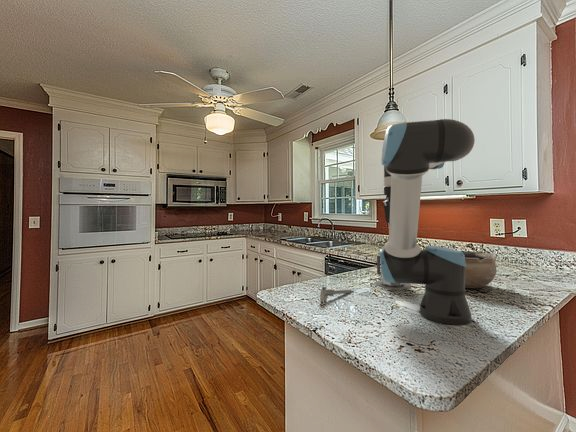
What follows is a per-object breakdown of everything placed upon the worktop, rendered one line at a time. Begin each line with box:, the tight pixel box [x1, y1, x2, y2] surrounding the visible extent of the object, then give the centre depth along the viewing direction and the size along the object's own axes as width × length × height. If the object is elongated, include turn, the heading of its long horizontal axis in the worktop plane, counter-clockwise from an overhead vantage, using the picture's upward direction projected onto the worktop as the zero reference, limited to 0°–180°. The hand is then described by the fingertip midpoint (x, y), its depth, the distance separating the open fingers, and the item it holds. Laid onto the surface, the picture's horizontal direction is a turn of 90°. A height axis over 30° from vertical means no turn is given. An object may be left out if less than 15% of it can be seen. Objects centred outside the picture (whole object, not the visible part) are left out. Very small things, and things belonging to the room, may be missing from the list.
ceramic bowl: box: [460, 250, 498, 289], centre depth 125 cm, size 22×22×15 cm
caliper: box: [319, 286, 354, 303], centre depth 112 cm, size 20×1×6 cm, turn 131°
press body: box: [376, 252, 405, 287], centre depth 127 cm, size 13×10×15 cm
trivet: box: [374, 279, 412, 291], centre depth 126 cm, size 16×16×1 cm
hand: (392, 237), depth 126 cm, fingers closed
